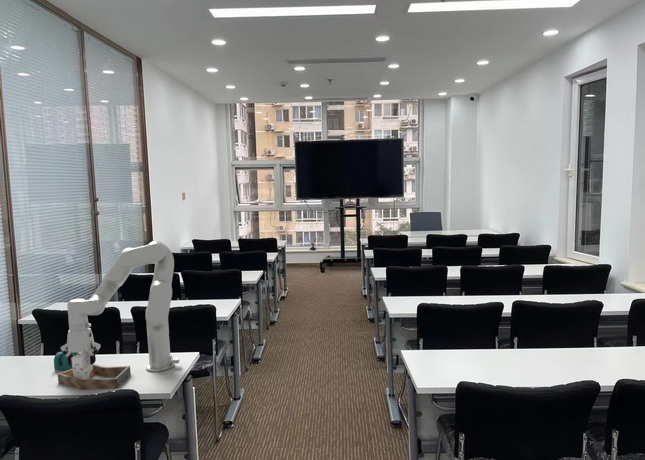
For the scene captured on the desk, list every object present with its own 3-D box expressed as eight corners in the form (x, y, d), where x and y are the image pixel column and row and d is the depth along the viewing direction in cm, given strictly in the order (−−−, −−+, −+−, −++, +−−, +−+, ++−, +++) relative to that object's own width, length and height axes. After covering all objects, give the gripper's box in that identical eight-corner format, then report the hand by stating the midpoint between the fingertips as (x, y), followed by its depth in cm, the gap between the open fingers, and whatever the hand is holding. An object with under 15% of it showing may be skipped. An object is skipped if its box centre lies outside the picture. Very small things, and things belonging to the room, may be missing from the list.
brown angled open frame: (136, 369, 215) (135, 360, 215) (116, 388, 194) (116, 379, 194) (73, 371, 215) (72, 363, 214) (47, 391, 194) (46, 382, 193)
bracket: (67, 371, 216) (66, 355, 216) (54, 370, 217) (53, 354, 217) (92, 357, 234) (90, 342, 233) (80, 357, 235) (78, 342, 234)
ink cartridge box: (83, 375, 210) (80, 344, 208) (94, 375, 210) (91, 344, 208) (73, 383, 201) (70, 351, 200) (84, 383, 201) (81, 350, 200)
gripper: (102, 323, 207) (105, 360, 208) (63, 325, 207) (67, 361, 208) (94, 328, 200) (97, 366, 201) (54, 330, 199) (58, 368, 201)
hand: (82, 364), depth 205 cm, fingers open, 9 cm apart
